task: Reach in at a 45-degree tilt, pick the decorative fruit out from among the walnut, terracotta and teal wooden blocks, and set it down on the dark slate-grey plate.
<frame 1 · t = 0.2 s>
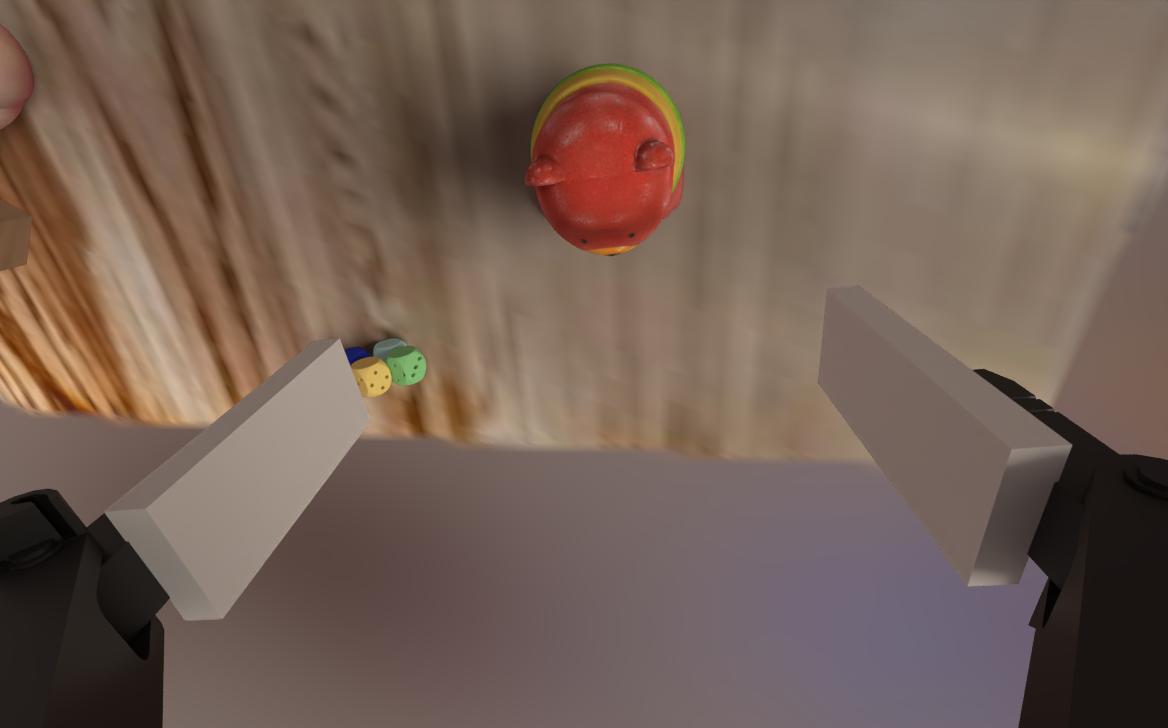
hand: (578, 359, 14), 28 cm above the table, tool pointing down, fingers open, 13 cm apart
dice: (394, 350, 46), on the table
stacking bear: (609, 149, 37), on the table
decorative fruit: (18, 66, 37), on the table
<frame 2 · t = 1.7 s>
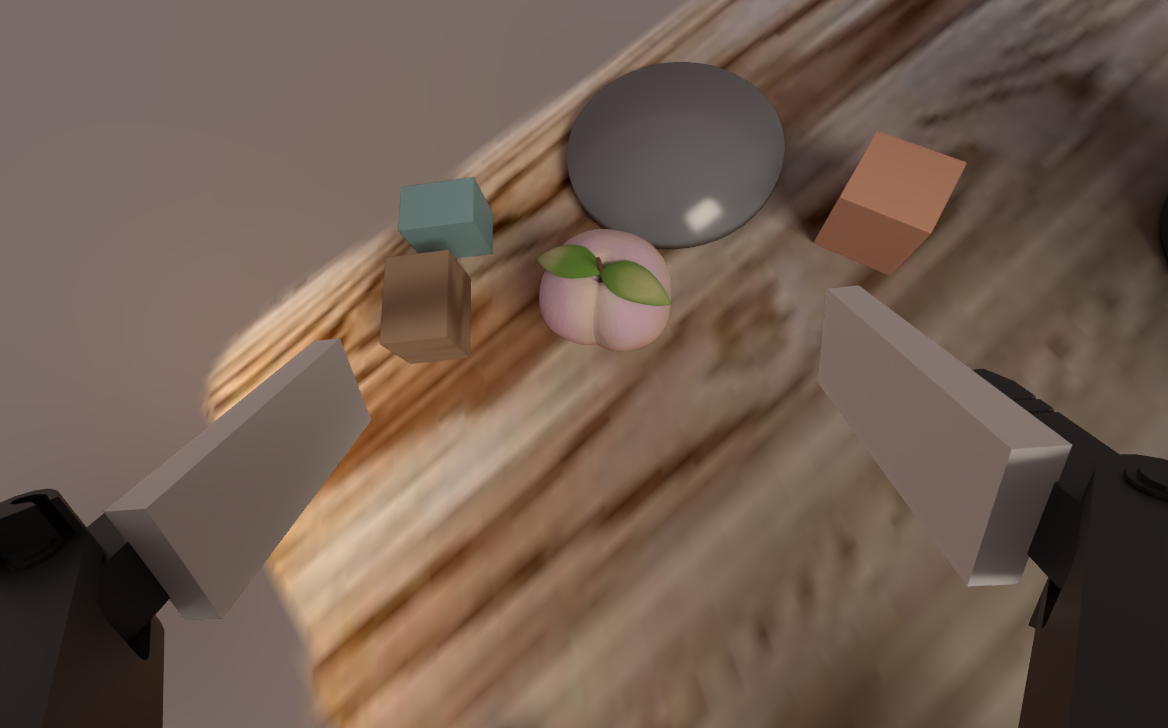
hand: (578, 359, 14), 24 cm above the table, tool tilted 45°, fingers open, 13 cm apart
terracotta block: (866, 229, 39), on the table
slate plate: (672, 156, 43), on the table
walnut block: (441, 321, 42), on the table
decorative fruit: (612, 318, 40), on the table
teal block: (459, 237, 44), on the table
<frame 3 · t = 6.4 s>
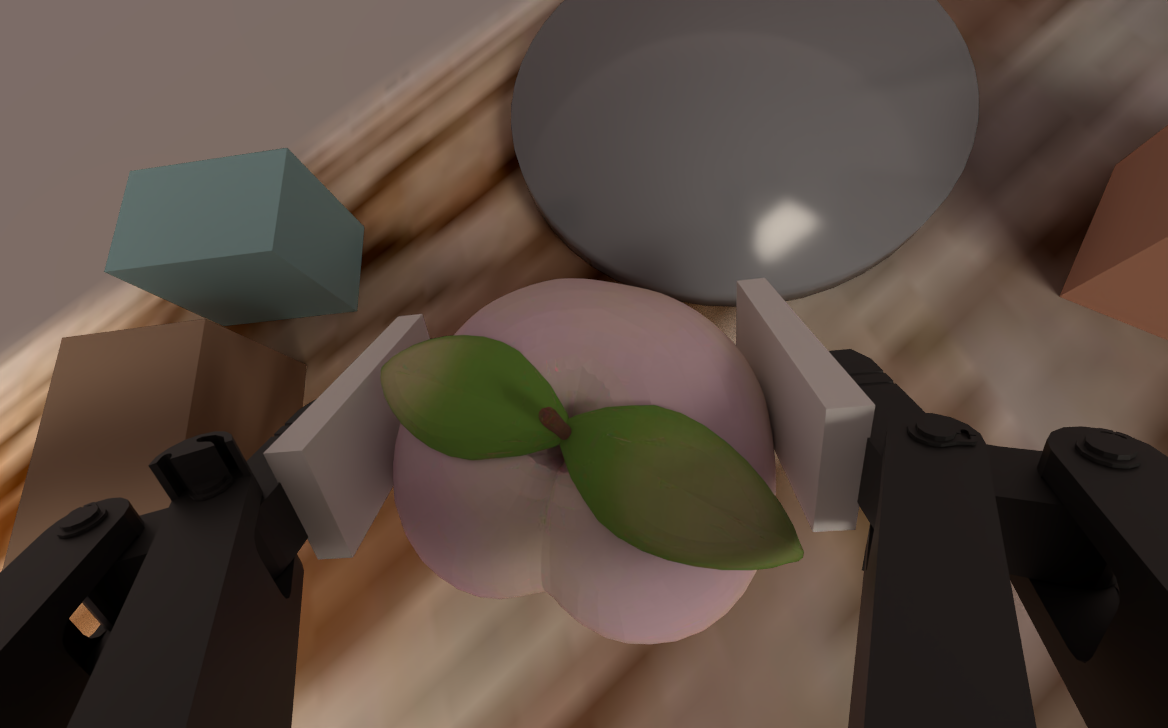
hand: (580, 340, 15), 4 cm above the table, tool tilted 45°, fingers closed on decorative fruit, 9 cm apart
slate plate: (725, 110, 21), on the table
walnut block: (240, 458, 20), on the table
decorative fruit: (605, 464, 18), on the table, touching gripper
teal block: (296, 276, 22), on the table
when the fingers open (6 cm above the table, at t = 11.8 s): decorative fruit drops 1 cm, resting on slate plate.
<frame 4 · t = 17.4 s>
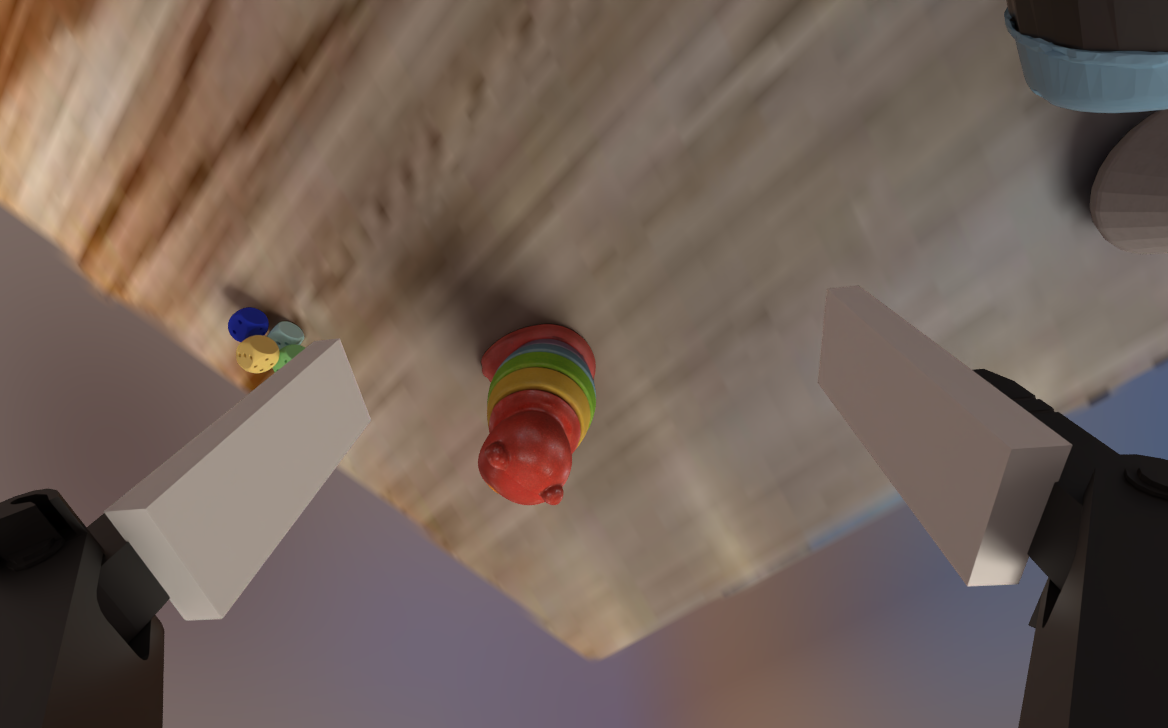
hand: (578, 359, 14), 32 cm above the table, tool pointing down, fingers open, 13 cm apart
dice: (289, 331, 50), on the table
stacking bear: (547, 365, 50), on the table
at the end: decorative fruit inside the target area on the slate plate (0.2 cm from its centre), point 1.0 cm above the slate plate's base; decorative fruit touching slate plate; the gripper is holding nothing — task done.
